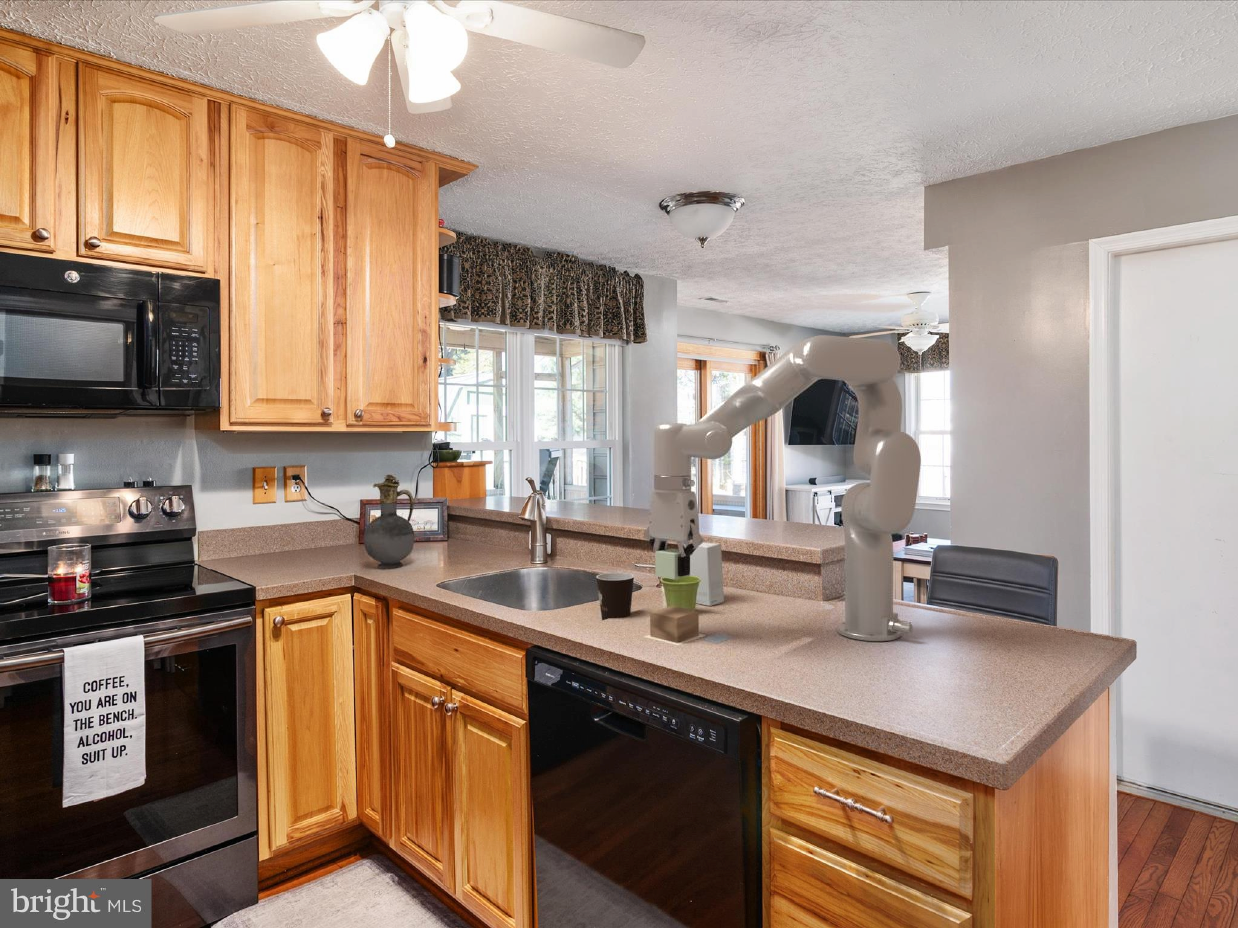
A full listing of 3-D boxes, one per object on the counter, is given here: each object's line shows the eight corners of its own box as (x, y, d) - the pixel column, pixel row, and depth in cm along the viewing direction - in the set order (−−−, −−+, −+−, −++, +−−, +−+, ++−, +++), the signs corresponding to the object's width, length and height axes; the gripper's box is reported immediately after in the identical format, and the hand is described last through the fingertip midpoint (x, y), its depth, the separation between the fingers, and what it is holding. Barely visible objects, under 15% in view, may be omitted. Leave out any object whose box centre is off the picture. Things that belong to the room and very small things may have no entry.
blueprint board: (745, 642, 147) (744, 636, 147) (696, 661, 136) (696, 654, 136) (668, 624, 161) (668, 619, 161) (619, 640, 150) (619, 635, 150)
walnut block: (698, 635, 149) (698, 611, 148) (677, 642, 143) (676, 617, 143) (672, 629, 153) (671, 605, 153) (650, 636, 148) (650, 612, 148)
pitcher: (359, 570, 232) (356, 476, 230) (402, 560, 249) (400, 472, 247) (384, 572, 227) (381, 476, 225) (427, 562, 244) (424, 472, 242)
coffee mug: (630, 625, 161) (630, 580, 161) (593, 623, 163) (592, 579, 163) (639, 612, 173) (639, 570, 172) (604, 611, 175) (603, 569, 174)
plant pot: (654, 618, 167) (653, 581, 167) (670, 609, 175) (670, 573, 175) (692, 623, 163) (691, 584, 162) (707, 613, 171) (706, 576, 171)
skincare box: (724, 602, 181) (723, 543, 180) (709, 607, 177) (708, 546, 176) (698, 597, 187) (697, 540, 186) (682, 601, 183) (682, 542, 182)
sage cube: (690, 575, 148) (690, 551, 148) (674, 579, 144) (674, 554, 144) (671, 572, 151) (671, 548, 151) (655, 576, 148) (655, 551, 147)
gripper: (718, 485, 144) (718, 576, 145) (652, 481, 156) (653, 565, 156) (694, 487, 138) (694, 582, 139) (629, 483, 150) (629, 570, 151)
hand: (672, 572), depth 148 cm, fingers closed on sage cube, 5 cm apart
